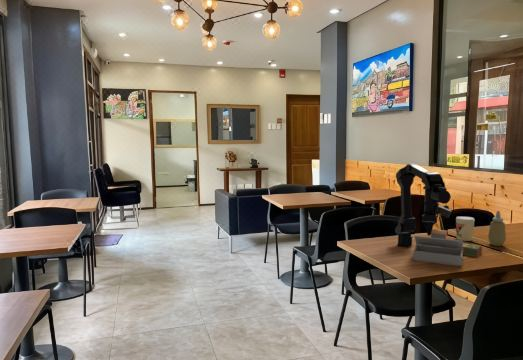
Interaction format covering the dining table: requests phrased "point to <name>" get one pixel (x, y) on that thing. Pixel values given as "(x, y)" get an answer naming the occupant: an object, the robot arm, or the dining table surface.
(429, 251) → the box
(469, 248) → the carton
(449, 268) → the dining table surface
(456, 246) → the flap
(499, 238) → the squeeze bottle
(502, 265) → the dining table surface
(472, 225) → the coffee cup
